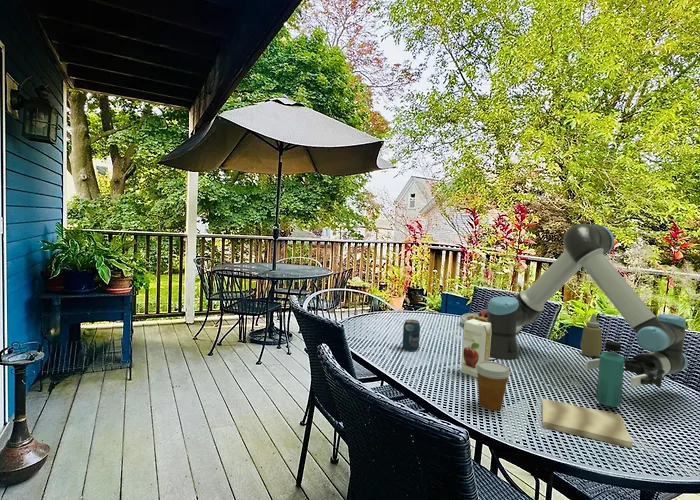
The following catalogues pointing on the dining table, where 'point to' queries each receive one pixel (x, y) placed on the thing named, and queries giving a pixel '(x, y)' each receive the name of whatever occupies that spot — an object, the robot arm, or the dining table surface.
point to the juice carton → (475, 345)
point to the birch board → (585, 422)
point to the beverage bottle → (610, 376)
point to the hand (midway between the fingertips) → (608, 373)
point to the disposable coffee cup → (492, 384)
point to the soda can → (411, 335)
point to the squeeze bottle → (591, 338)
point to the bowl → (480, 317)
